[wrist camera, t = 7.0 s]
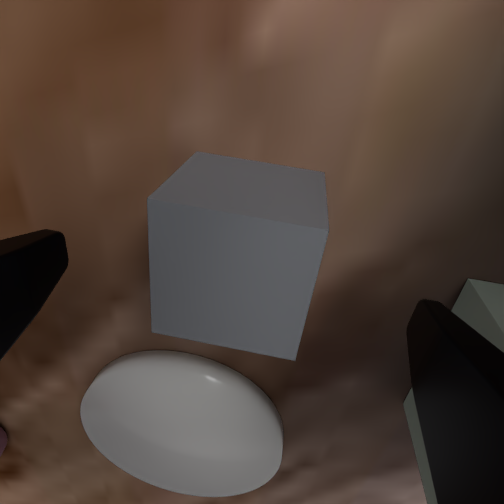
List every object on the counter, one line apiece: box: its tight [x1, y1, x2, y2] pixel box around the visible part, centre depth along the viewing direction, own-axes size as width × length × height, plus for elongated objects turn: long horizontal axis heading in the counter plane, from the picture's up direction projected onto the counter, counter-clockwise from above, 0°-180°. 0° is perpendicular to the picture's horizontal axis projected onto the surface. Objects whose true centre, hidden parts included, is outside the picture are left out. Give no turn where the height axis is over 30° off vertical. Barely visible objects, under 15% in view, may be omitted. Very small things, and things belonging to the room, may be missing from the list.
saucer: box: [80, 350, 284, 497], centre depth 18 cm, size 10×10×1 cm
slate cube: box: [147, 151, 329, 361], centre depth 11 cm, size 4×4×4 cm
